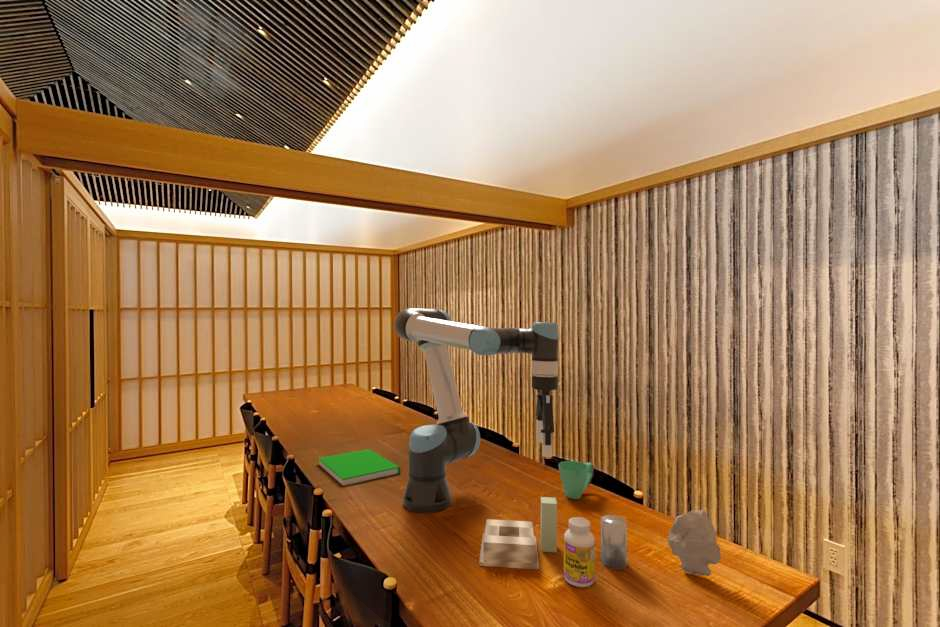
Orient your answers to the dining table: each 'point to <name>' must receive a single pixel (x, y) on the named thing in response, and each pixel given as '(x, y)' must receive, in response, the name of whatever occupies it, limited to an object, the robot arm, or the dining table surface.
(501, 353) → the robot arm
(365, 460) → the book
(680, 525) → the stone tool
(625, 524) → the clear glass cylinder
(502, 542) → the socket block
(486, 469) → the dining table surface
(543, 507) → the square peg
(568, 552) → the supplement bottle
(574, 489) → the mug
